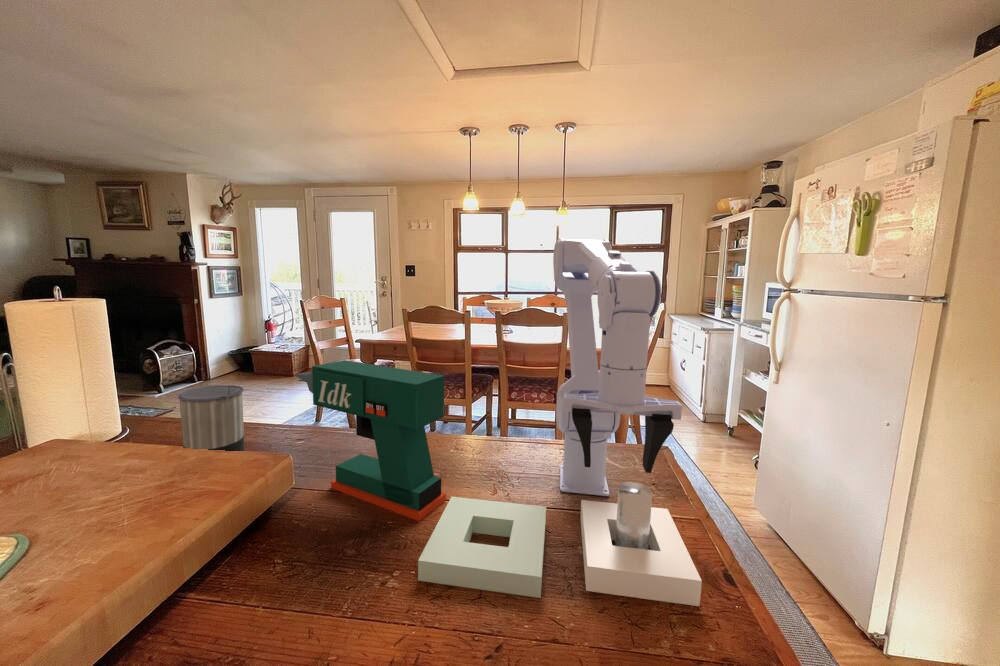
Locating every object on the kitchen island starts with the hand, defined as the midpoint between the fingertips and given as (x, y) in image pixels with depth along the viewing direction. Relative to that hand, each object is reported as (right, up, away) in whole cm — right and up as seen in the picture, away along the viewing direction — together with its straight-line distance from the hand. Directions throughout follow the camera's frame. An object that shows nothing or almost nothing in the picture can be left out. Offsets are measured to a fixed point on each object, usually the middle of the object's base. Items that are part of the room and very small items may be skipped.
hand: (616, 466), depth 52 cm
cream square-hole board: (+1, -11, -2) cm, 11 cm away
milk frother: (-68, -7, +14) cm, 70 cm away
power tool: (-40, -8, +14) cm, 43 cm away
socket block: (-17, -10, -1) cm, 20 cm away
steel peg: (+1, -11, -2) cm, 11 cm away
